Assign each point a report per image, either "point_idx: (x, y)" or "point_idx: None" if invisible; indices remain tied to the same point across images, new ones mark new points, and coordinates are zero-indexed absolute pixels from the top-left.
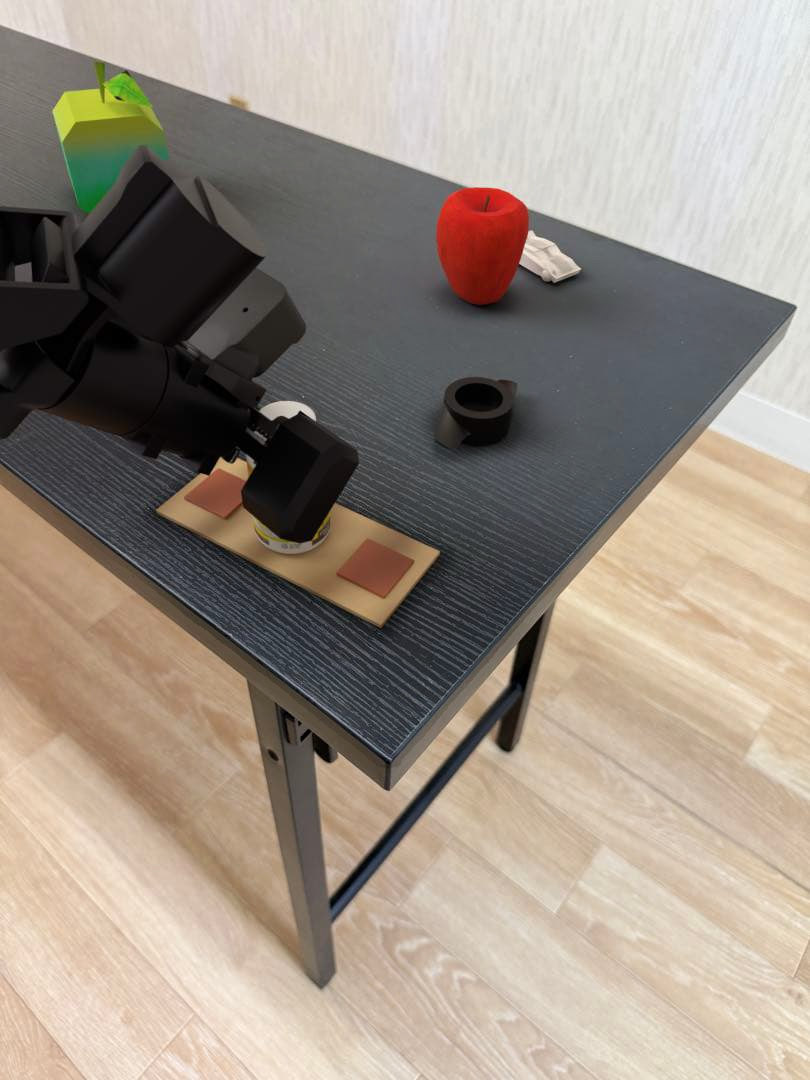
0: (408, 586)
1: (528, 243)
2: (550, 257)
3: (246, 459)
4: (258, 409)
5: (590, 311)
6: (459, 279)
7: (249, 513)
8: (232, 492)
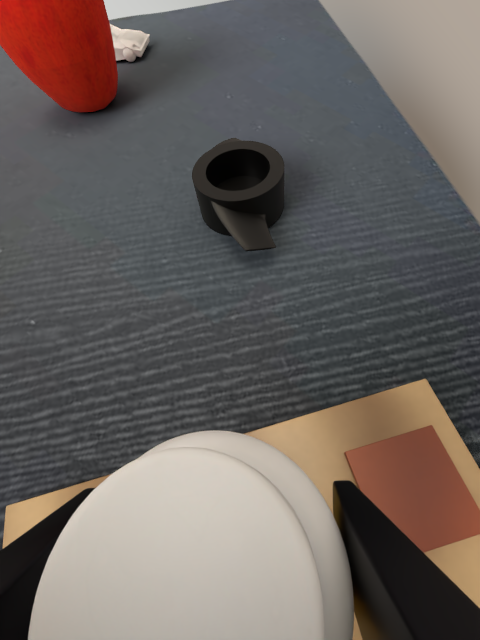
0: (475, 471)
1: None
2: (118, 36)
3: None
4: (9, 590)
5: (193, 59)
6: (69, 84)
7: None
8: None
